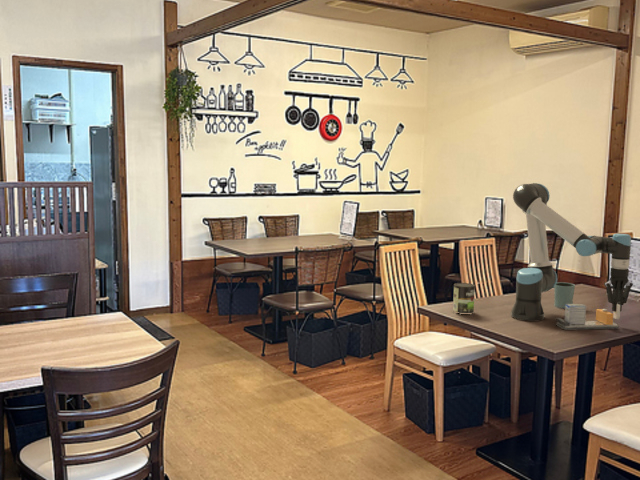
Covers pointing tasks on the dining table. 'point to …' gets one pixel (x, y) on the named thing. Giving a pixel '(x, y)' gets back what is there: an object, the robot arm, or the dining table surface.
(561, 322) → the grey shallow tray
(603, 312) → the rail end clamp
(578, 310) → the medicine box
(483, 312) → the dining table surface
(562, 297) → the green cup
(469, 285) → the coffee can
